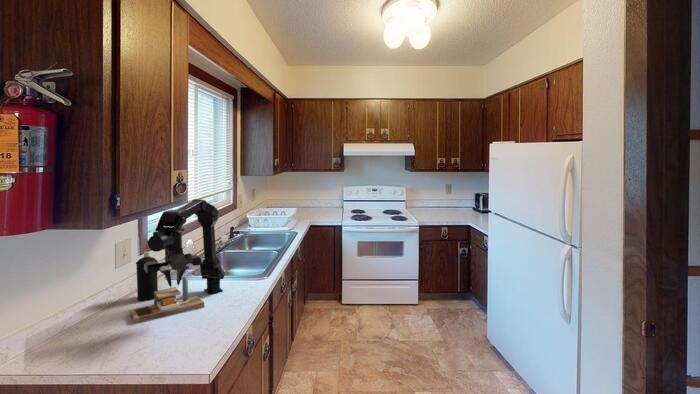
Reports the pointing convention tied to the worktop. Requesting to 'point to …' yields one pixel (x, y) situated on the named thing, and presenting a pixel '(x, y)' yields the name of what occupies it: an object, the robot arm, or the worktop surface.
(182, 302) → the sled
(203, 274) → the robot arm
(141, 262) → the aerosol can
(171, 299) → the block
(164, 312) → the tan piece
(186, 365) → the worktop surface
